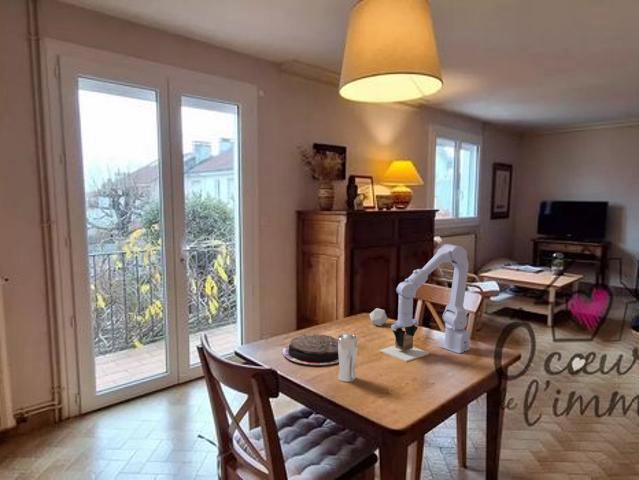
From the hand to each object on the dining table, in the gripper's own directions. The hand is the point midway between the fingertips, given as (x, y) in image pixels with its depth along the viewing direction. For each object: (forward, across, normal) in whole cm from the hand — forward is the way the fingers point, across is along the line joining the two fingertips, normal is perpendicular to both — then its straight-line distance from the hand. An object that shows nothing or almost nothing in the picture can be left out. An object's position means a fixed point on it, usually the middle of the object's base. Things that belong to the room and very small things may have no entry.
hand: (404, 344), depth 171 cm
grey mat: (+3, 0, 0) cm, 3 cm away
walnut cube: (+2, 0, 0) cm, 2 cm away
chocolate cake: (+4, +29, -21) cm, 36 cm away
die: (+4, -19, -33) cm, 38 cm away
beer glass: (+4, +35, +4) cm, 35 cm away
